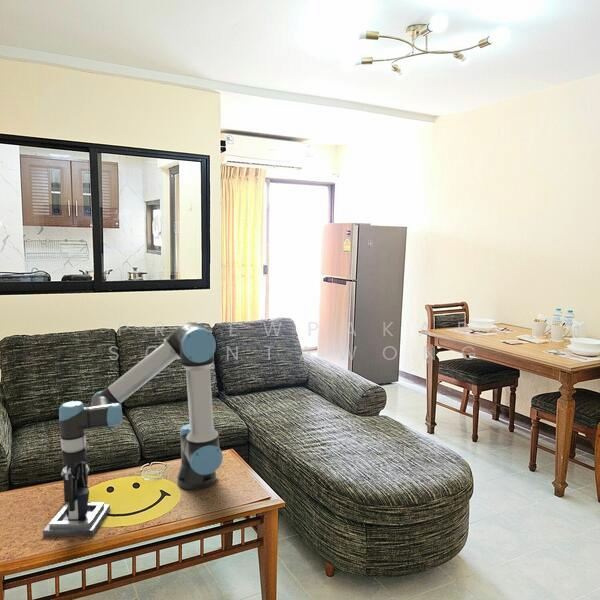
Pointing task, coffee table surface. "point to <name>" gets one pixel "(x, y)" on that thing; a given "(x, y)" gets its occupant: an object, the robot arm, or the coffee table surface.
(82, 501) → the speaker
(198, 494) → the coffee table surface
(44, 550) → the coffee table surface
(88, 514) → the white square tray
